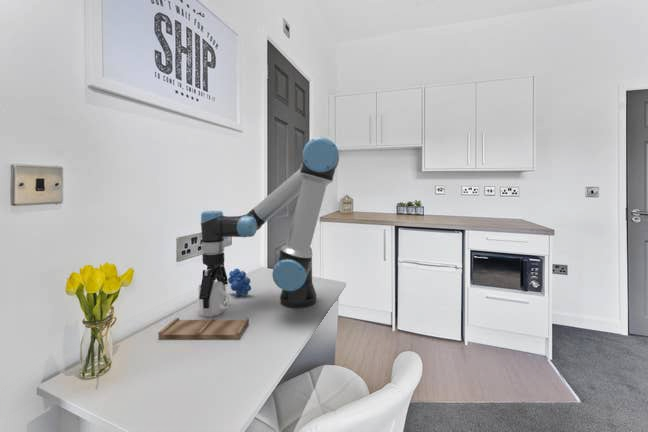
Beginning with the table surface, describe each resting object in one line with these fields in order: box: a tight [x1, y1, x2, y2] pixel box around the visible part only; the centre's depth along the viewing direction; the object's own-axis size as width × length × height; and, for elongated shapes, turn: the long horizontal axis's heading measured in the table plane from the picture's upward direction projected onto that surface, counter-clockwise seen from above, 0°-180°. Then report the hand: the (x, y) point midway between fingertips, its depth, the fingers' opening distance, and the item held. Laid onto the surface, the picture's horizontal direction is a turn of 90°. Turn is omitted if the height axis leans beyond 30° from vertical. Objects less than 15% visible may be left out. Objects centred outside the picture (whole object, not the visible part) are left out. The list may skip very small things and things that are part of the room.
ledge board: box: [158, 317, 250, 340], centre depth 90 cm, size 25×10×2 cm, turn 89°
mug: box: [197, 280, 230, 318], centre depth 104 cm, size 9×12×11 cm
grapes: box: [227, 268, 252, 297], centre depth 120 cm, size 12×7×12 cm, turn 70°
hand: (215, 308), depth 104 cm, fingers open, 13 cm apart
